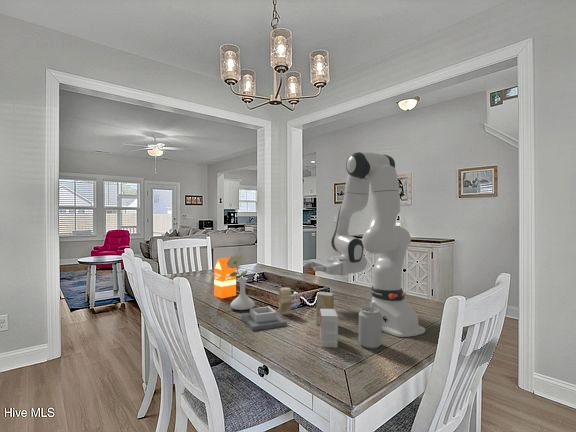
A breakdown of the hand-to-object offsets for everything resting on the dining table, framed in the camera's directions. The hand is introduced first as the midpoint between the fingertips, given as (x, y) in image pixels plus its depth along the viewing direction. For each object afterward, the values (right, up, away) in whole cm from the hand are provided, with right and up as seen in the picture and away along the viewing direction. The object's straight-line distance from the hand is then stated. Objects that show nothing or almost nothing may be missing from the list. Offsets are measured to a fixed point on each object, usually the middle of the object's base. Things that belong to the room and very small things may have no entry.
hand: (309, 267), depth 142 cm
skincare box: (+5, -20, -17) cm, 27 cm away
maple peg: (-11, -20, -5) cm, 23 cm away
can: (+18, -20, -37) cm, 46 cm away
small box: (+4, -20, -35) cm, 41 cm away
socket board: (-20, -20, -15) cm, 32 cm away
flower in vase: (-31, -20, +2) cm, 37 cm away
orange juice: (-43, -19, +24) cm, 53 cm away
